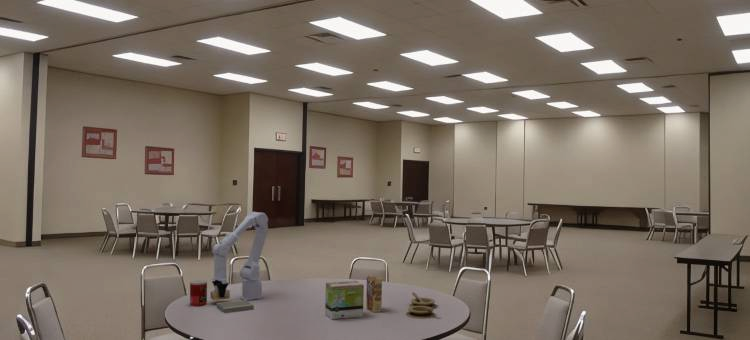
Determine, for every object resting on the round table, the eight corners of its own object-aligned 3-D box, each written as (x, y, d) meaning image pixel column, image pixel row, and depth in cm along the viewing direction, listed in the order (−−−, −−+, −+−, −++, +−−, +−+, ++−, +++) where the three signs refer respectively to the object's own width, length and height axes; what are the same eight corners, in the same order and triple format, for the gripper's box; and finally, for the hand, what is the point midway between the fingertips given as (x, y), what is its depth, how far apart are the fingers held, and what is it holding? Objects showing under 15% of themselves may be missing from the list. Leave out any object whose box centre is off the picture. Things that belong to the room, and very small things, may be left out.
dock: (245, 304, 277) (245, 299, 277) (253, 309, 267) (253, 304, 267) (216, 307, 270) (216, 303, 270) (224, 313, 260) (224, 308, 260)
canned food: (202, 306, 272) (202, 283, 272) (186, 305, 273) (186, 283, 273) (209, 303, 279) (210, 280, 279) (195, 302, 281) (195, 280, 281)
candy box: (382, 311, 264) (382, 278, 264) (374, 312, 262) (374, 279, 262) (374, 307, 272) (374, 275, 272) (365, 308, 270) (366, 276, 270)
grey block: (223, 289, 281) (223, 284, 281) (225, 291, 278) (225, 285, 278) (214, 290, 279) (214, 285, 279) (216, 292, 276) (216, 286, 276)
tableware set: (404, 303, 283) (404, 291, 283) (443, 305, 280) (443, 293, 280) (398, 319, 253) (398, 305, 253) (442, 320, 251) (442, 307, 251)
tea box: (332, 320, 248) (332, 286, 248) (324, 314, 258) (325, 282, 258) (363, 316, 254) (364, 283, 254) (355, 311, 264) (355, 279, 264)
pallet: (226, 296, 283) (226, 289, 283) (229, 298, 279) (229, 290, 279) (210, 298, 279) (210, 290, 279) (213, 300, 274) (213, 292, 274)
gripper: (207, 266, 283) (207, 294, 283) (216, 271, 270) (216, 299, 270) (222, 265, 286) (221, 292, 286) (230, 270, 274) (230, 298, 274)
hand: (220, 296), depth 279 cm, fingers closed on pallet, 5 cm apart
